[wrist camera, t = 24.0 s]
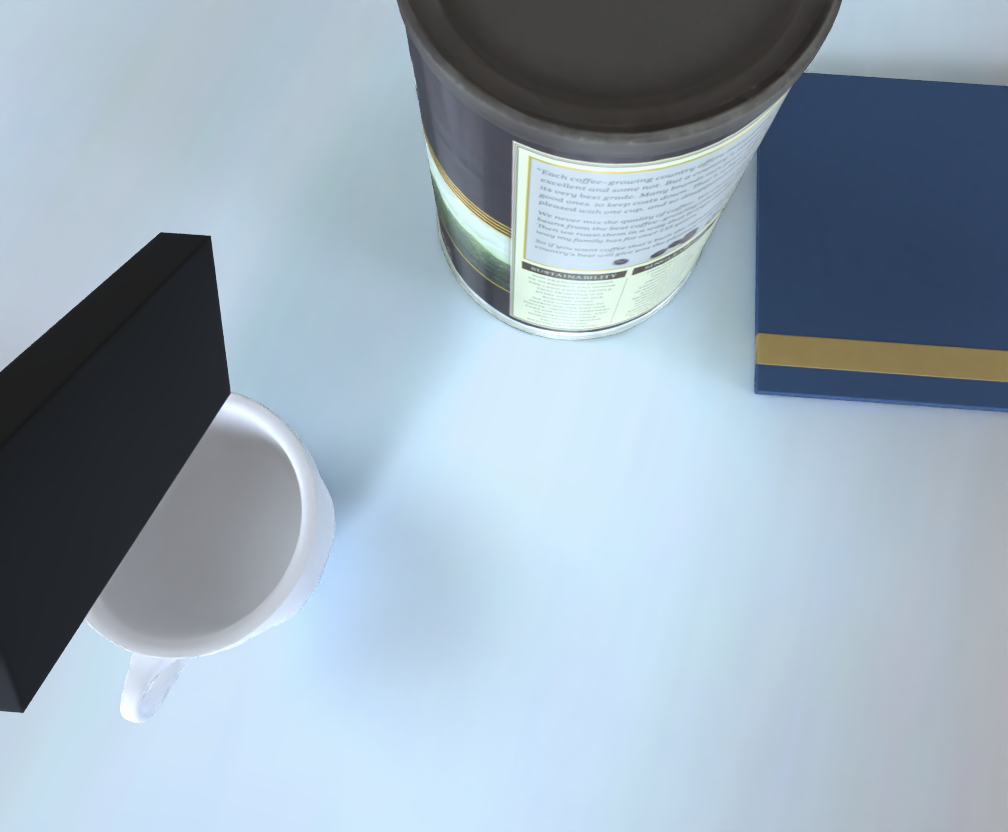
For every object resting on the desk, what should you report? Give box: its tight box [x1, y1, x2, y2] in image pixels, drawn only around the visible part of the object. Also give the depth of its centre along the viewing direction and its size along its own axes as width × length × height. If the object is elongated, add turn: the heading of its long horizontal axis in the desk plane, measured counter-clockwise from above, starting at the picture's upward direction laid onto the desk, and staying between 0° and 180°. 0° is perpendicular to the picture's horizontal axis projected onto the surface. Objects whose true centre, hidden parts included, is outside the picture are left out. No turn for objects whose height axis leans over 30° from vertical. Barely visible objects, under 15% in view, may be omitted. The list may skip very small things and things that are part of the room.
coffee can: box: [397, 0, 842, 340], centre depth 26 cm, size 10×10×14 cm
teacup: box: [84, 392, 335, 723], centre depth 28 cm, size 10×8×5 cm
